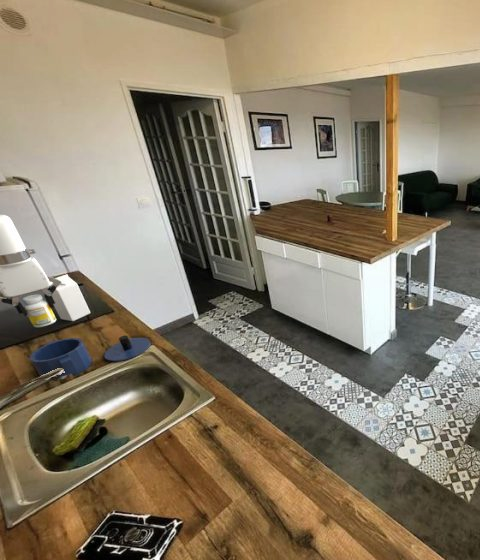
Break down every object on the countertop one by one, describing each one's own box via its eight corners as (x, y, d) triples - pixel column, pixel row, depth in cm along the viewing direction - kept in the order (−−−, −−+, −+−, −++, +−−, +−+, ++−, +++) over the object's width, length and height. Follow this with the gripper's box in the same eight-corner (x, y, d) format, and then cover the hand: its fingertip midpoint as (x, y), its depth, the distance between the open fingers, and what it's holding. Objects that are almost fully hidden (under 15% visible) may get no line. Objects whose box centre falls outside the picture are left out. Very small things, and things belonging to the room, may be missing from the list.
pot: (49, 391, 98) (36, 370, 94) (35, 368, 107) (23, 348, 103) (99, 369, 107) (90, 349, 104) (83, 350, 116) (73, 331, 113)
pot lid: (113, 367, 108) (106, 353, 105) (99, 353, 115) (93, 339, 112) (157, 348, 118) (152, 334, 116) (142, 335, 125) (137, 323, 122)
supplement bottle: (45, 327, 98) (31, 301, 94) (28, 327, 98) (13, 301, 94) (61, 318, 103) (48, 293, 99) (45, 318, 103) (32, 293, 99)
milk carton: (60, 319, 135) (40, 280, 127) (79, 311, 141) (60, 273, 133) (73, 321, 133) (53, 282, 125) (90, 313, 140) (73, 275, 131)
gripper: (47, 247, 99) (70, 296, 107) (-38, 263, 86) (-5, 318, 94) (54, 252, 96) (77, 303, 103) (-35, 269, 83) (0, 326, 90)
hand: (38, 309), depth 99 cm, fingers closed on supplement bottle, 5 cm apart
